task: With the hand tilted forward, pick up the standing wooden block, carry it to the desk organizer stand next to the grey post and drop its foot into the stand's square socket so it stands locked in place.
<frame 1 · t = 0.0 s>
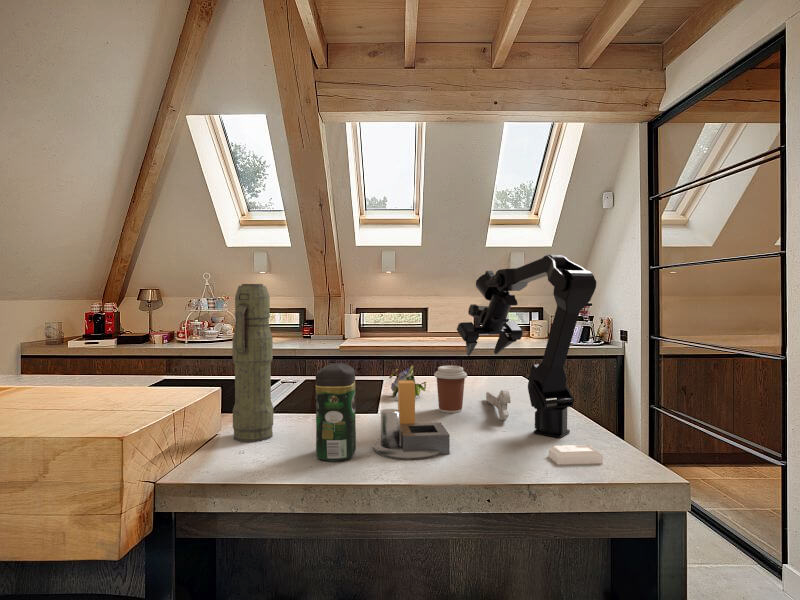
hand: (481, 354, 149), 15 cm above the counter, tool tilted 35°, fingers open, 9 cm apart
desk organizer stand: (422, 447, 109), on the counter
soap bar: (575, 462, 102), on the counter
wooden block: (406, 432, 121), on the counter
coffee cup: (450, 411, 143), on the counter
coffee jar: (335, 455, 105), on the counter
passion flower: (407, 398, 160), on the counter
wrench: (496, 412, 142), on the counter
thermos: (253, 437, 117), on the counter
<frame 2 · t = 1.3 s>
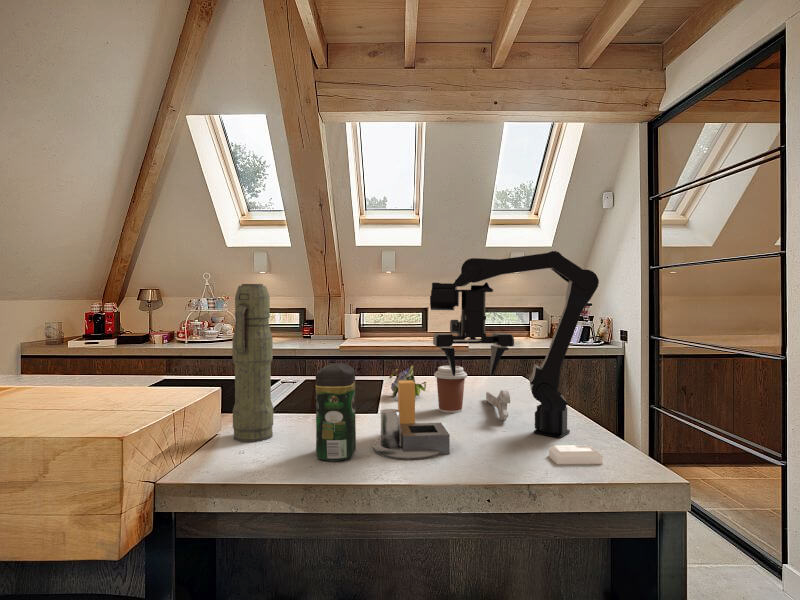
hand: (472, 375, 124), 13 cm above the counter, tool pointing down, fingers open, 9 cm apart
nothing on the counter moved.
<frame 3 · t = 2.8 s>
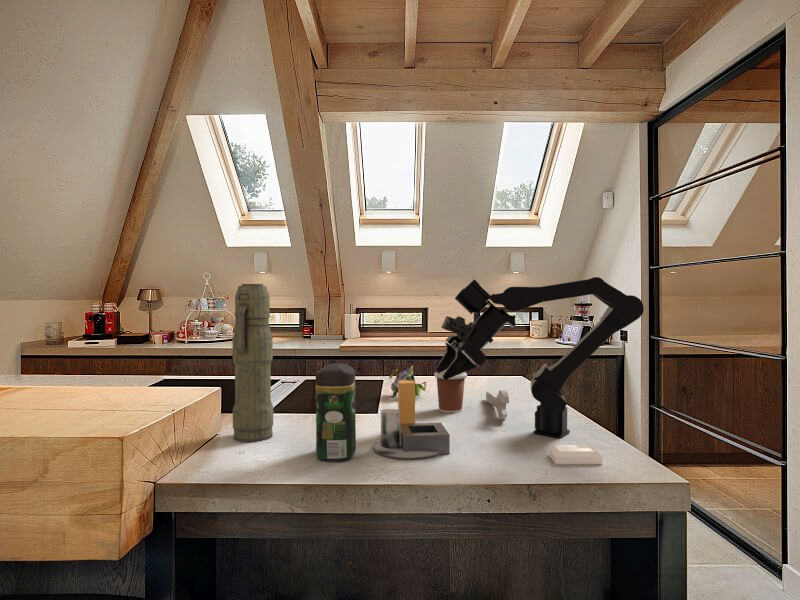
hand: (440, 374, 122), 13 cm above the counter, tool tilted 45°, fingers open, 9 cm apart
nothing on the counter moved.
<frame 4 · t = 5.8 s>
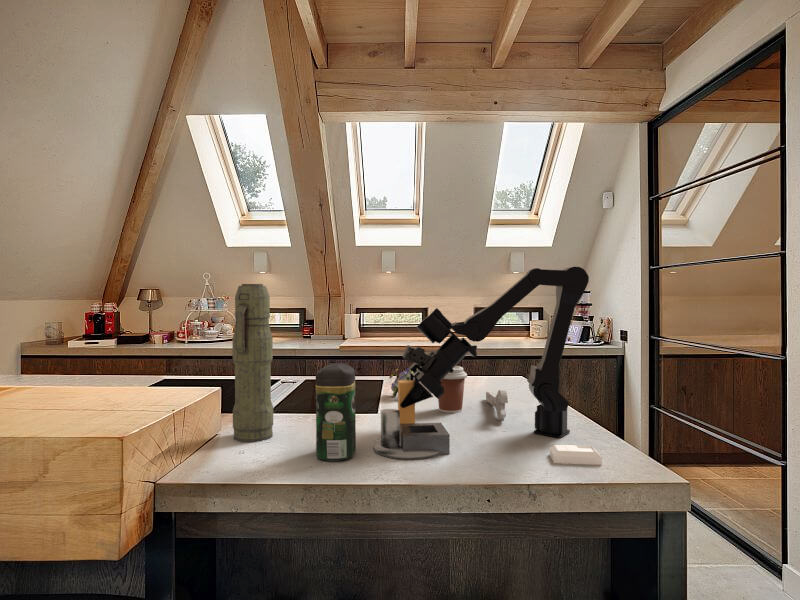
hand: (400, 404, 121), 7 cm above the counter, tool tilted 45°, fingers closed on wooden block, 4 cm apart
wooden block: (406, 432, 121), on the counter, touching gripper
everything else where it was.
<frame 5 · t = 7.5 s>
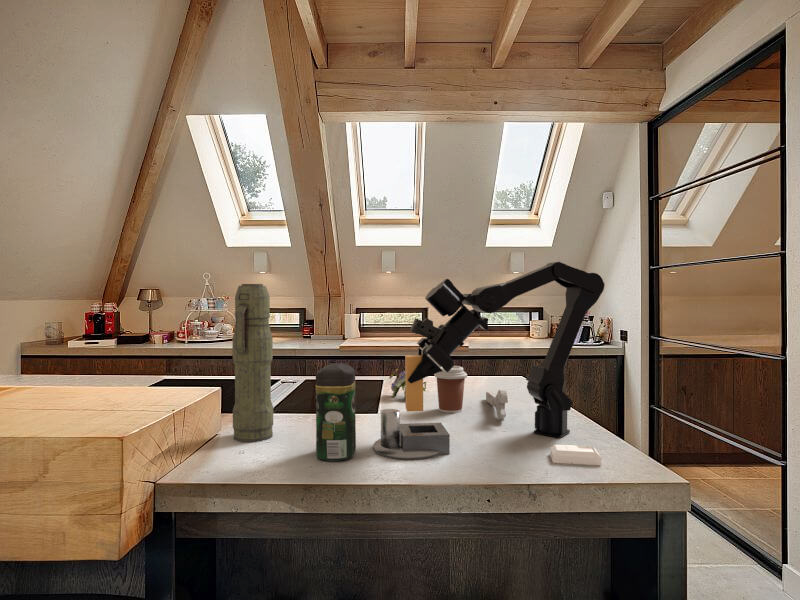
hand: (408, 380, 115), 13 cm above the counter, tool tilted 45°, fingers closed on wooden block, 4 cm apart
wooden block: (414, 409, 115), point 7 cm above the counter, touching gripper
everything else where it was.
when the fingers open (9 cm above the counter, at t = 9.2 s): wooden block drops 2 cm, resting on desk organizer stand.
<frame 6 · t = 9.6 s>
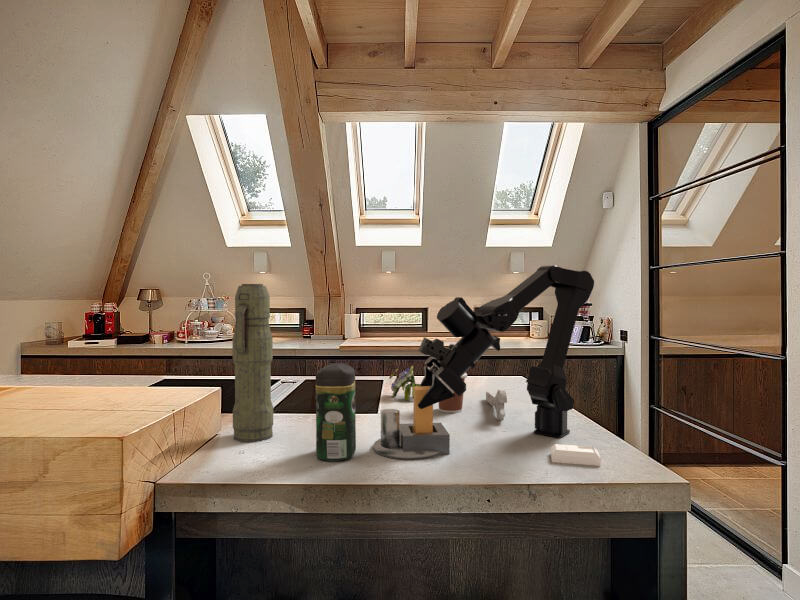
hand: (416, 403, 109), 10 cm above the counter, tool tilted 45°, fingers open, 7 cm apart
wooden block: (422, 443, 109), point 1 cm above the counter, touching desk organizer stand
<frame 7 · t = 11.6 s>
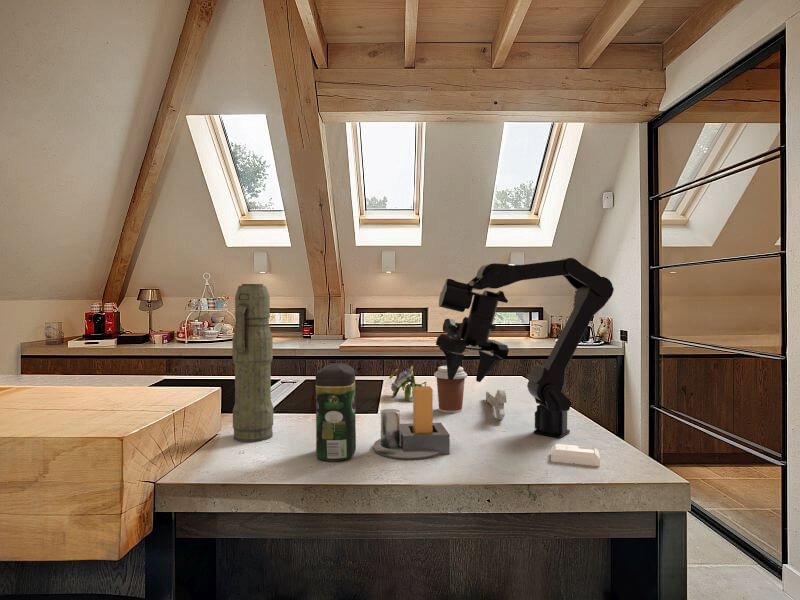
hand: (464, 380, 120), 12 cm above the counter, tool pointing down, fingers open, 9 cm apart
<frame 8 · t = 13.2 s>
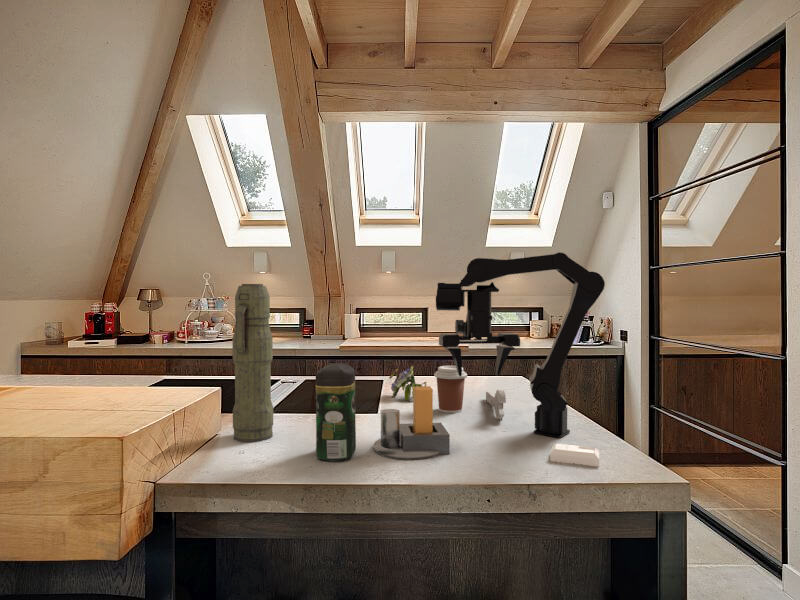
hand: (478, 375, 123), 13 cm above the counter, tool pointing down, fingers open, 9 cm apart
at the end: wooden block 0.1 cm off-centre on the desk organizer stand, point 0.8 cm above the desk organizer stand's base; wooden block tilted 0°; the gripper is holding nothing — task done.
